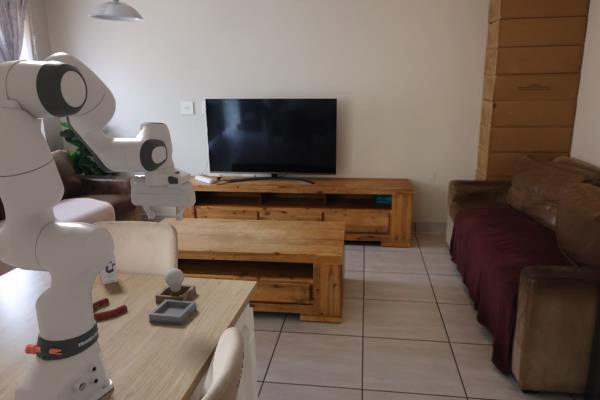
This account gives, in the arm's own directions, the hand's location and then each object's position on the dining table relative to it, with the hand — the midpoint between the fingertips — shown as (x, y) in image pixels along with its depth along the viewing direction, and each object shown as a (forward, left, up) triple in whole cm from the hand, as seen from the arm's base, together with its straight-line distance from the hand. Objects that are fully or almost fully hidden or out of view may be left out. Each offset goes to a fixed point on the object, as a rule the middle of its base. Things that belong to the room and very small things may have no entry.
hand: (165, 219), depth 142 cm
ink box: (+12, +32, -27) cm, 43 cm away
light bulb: (+2, 0, -27) cm, 28 cm away
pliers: (-15, +20, -28) cm, 37 cm away
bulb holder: (+2, 0, -27) cm, 27 cm away
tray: (-10, -5, -27) cm, 29 cm away
